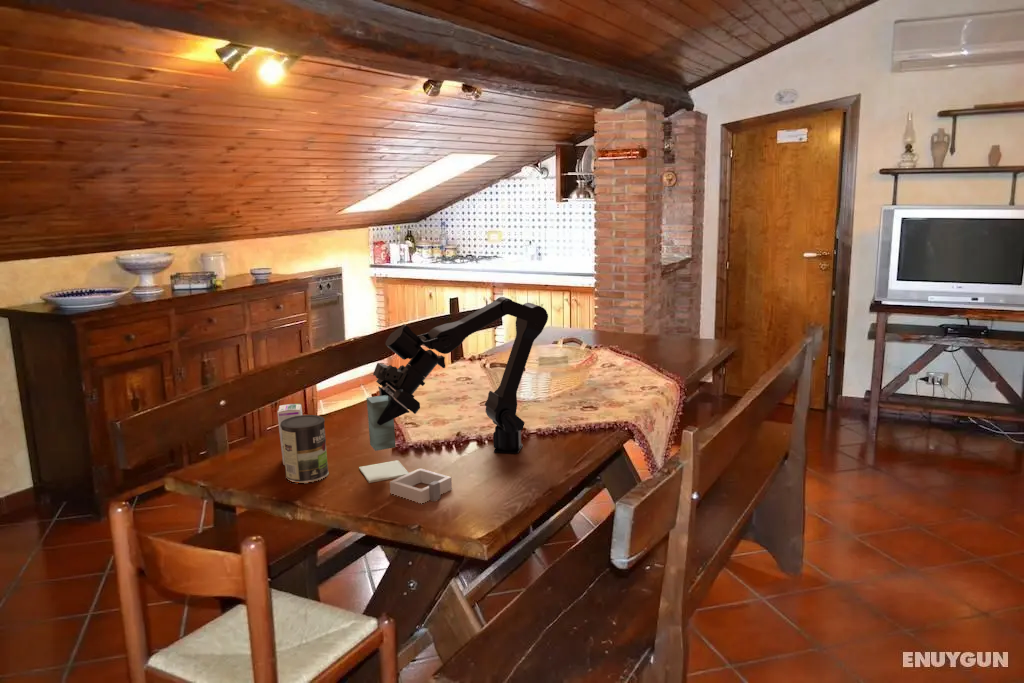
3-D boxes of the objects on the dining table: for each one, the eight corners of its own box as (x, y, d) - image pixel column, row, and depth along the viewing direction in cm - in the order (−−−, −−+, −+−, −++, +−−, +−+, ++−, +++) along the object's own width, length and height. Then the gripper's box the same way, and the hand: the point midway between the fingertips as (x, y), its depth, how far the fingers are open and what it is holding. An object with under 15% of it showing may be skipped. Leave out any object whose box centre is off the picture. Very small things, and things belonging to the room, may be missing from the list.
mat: (397, 461, 201) (397, 460, 201) (409, 475, 192) (409, 473, 192) (359, 468, 197) (359, 467, 197) (369, 482, 188) (369, 480, 188)
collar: (420, 479, 189) (419, 464, 188) (456, 490, 182) (455, 474, 181) (390, 494, 181) (389, 477, 180) (426, 505, 174) (425, 488, 174)
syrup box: (306, 463, 202) (301, 409, 198) (282, 465, 200) (276, 411, 197) (307, 455, 207) (302, 402, 204) (283, 457, 206) (278, 404, 203)
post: (389, 441, 196) (386, 394, 193) (395, 447, 192) (392, 399, 189) (370, 444, 194) (366, 397, 191) (375, 450, 190) (371, 403, 187)
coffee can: (335, 468, 198) (331, 414, 194) (318, 485, 188) (313, 428, 185) (296, 467, 199) (291, 413, 196) (278, 483, 189) (272, 427, 186)
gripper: (381, 343, 198) (341, 392, 196) (403, 359, 181) (359, 412, 179) (413, 369, 202) (374, 417, 200) (438, 387, 186) (395, 439, 184)
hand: (375, 421), depth 191 cm, fingers closed on post, 5 cm apart
